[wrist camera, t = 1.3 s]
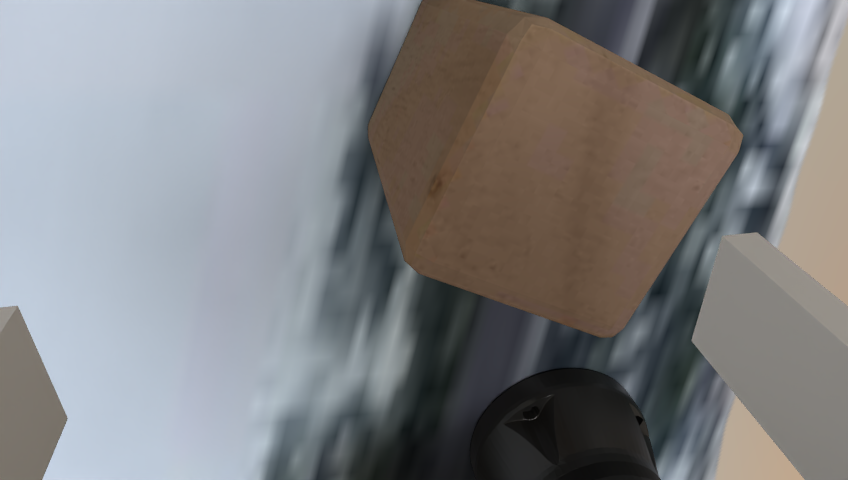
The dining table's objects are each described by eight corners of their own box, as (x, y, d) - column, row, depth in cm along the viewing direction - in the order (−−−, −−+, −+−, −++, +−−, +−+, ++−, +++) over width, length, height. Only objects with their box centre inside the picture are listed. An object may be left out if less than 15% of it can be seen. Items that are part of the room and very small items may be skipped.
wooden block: (361, 135, 40) (397, 277, 22) (426, -16, 37) (531, 6, 19) (492, 189, 43) (619, 354, 25) (563, 55, 40) (766, 132, 22)
